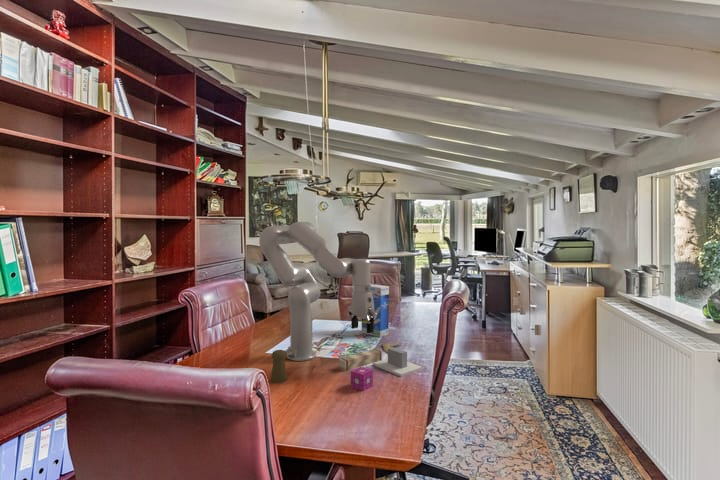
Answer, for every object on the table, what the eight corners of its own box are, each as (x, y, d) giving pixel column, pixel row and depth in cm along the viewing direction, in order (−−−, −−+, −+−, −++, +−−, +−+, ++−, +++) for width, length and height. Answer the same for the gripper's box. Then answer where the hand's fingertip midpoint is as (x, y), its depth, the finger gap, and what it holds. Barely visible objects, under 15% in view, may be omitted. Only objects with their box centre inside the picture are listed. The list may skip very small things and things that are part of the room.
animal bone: (381, 342, 186) (401, 339, 186) (381, 347, 186) (402, 344, 186) (385, 359, 165) (408, 356, 165) (385, 364, 165) (408, 361, 165)
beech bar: (345, 371, 152) (345, 361, 152) (338, 368, 155) (338, 358, 155) (382, 360, 165) (382, 350, 165) (375, 357, 168) (375, 348, 168)
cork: (279, 384, 139) (279, 354, 139) (267, 381, 143) (267, 351, 142) (290, 378, 145) (290, 349, 144) (278, 375, 148) (278, 347, 147)
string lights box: (361, 332, 207) (361, 284, 206) (370, 329, 213) (370, 283, 212) (380, 337, 198) (380, 287, 197) (389, 334, 204) (389, 285, 203)
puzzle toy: (360, 382, 142) (360, 366, 142) (373, 386, 138) (373, 370, 138) (350, 387, 138) (350, 371, 137) (363, 391, 134) (363, 375, 134)
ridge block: (401, 376, 147) (401, 358, 146) (373, 365, 159) (373, 348, 159) (422, 369, 154) (422, 352, 154) (393, 358, 167) (393, 342, 166)
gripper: (382, 290, 155) (383, 332, 155) (355, 285, 168) (356, 324, 168) (368, 292, 150) (369, 336, 150) (341, 287, 163) (342, 328, 164)
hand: (362, 330), depth 159 cm, fingers open, 9 cm apart
